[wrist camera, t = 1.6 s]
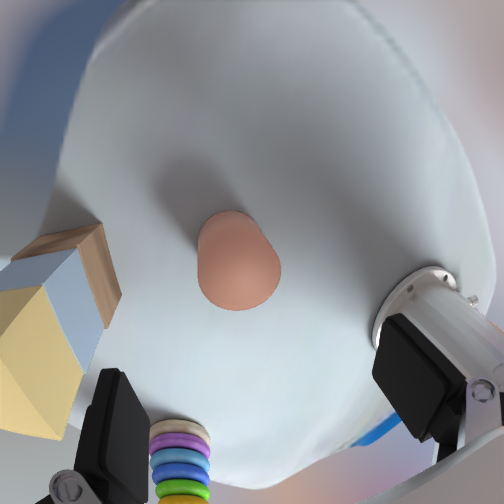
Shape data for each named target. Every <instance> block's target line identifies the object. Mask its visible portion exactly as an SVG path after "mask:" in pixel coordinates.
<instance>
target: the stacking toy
mask: <svg viewBox="0 0 504 504" xmlns="http://www.w3.org/2000/svg"><path fill="white" fill-rule="evenodd" d="M209 444H210V436H209V434H208V432H207V431H206V430H205V429H204V428H203V427H201V426H200V425H198V424H196V423H193V422H189V421H185V420H175V419H171V420H164V421H160V422H158V423H156V424H154V425H153V426H151V427H150V437H149V454H150V456H151V459H150V466H151V468H152V469H153V473H152V479H153V482H154V483H155V484H156V485H157V487H156V495H157V496H158V498H159V499H160V500H159V502H158V504H209V503H208V502H207V500H208V499H209V497H210V491H209V489H208V488H207V485H208V484H209V476H208V474H207V473H208V471H209V468H210V464H209V461H208V458H209V456H210V449H209Z"/></svg>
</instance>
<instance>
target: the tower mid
mask: <svg viewBox="0 0 504 504" xmlns="http://www.w3.org/2000/svg"><path fill="white" fill-rule="evenodd" d="M36 286H43V287H44V290H45V293H46V295H47V298H48V300H49V303H50V305H51V307H52V310H53V312H54V315H55V317H56V319H57V321H58V324H59V326H60V328H61V330H62V332H63V334H64V336H65V338H66V341H67V343H68V345H69V347H70V349H71V350H72V352H73V354H74V356H75V358H76V360H77V362H78V364H79V366H80V367H81V369H82V371H83V373H84V374H86V373H87V370H88V367H89V365H90V362H91V359H92V357H93V354H94V352H95V349H96V347H97V344H98V342H99V339H100V337H101V334H102V332H103V329H104V327H105V326H104V324H103V321H102V319H101V316H100V313H99V311H98V308H97V305H96V303H95V300H94V297H93V294H92V292H91V289H90V286H89V283H88V280H87V277H86V274H85V271H84V267H83V264H82V261H81V257H80V254H79V251H78V248H73V249H68V250H63V251H58V252H53V253H48V254H43V255H38V256H34V257H29V258H24V259H20V260H15V261H12V262H11V263H10V264H9V265H8V266H6V267H5V268H4V269H3V270H2V271H0V292H3V291H10V290H16V289H23V288H29V287H36Z"/></svg>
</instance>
